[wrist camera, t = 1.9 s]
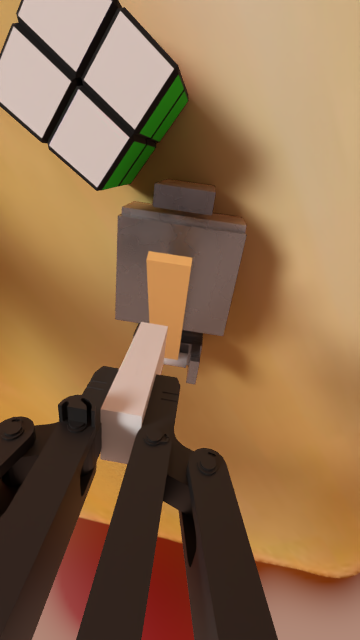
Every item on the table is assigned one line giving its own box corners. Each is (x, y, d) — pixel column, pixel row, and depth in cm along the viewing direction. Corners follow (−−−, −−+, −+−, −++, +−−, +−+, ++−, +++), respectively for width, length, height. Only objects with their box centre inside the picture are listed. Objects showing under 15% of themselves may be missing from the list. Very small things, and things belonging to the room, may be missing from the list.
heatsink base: (127, 329, 40) (107, 370, 32) (135, 174, 31) (109, 177, 23) (214, 343, 40) (215, 387, 32) (247, 190, 31) (260, 199, 23)
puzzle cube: (104, 5, 25) (47, -79, 16) (190, 98, 28) (181, 67, 19) (49, 113, 29) (-19, 92, 21) (129, 185, 32) (98, 194, 23)
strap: (144, 350, 34) (142, 363, 34) (135, 244, 20) (130, 261, 19) (187, 357, 34) (185, 369, 34) (207, 255, 20) (205, 273, 19)
